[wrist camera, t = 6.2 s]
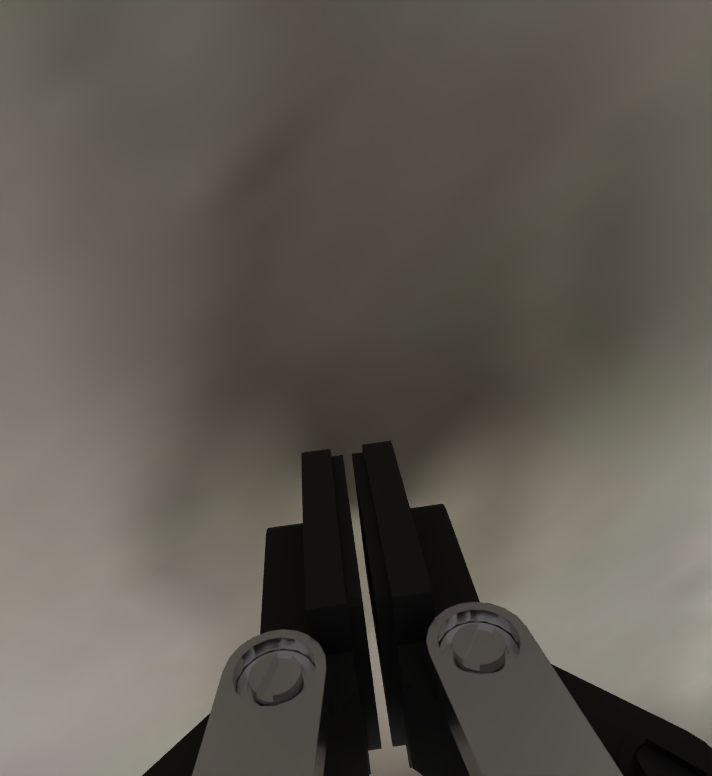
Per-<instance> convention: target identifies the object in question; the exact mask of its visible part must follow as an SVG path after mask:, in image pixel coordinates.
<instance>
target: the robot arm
mask: <svg viewBox="0 0 712 776" xmlns="http://www.w3.org/2000/svg"><path fill="white" fill-rule="evenodd" d="M362 450H363V452H362V453H354V454H352V460H353V468H354V476H355V484H356V492H357V500H358V508H359V517H360V525H361V533H362V541H363V549H364V557H365V565H366V573H367V580H368V587H369V594H370V600H371V607H372V614H373V620H374V627H375V633H376V640H377V647H378V653H379V660H380V666H381V673H382V680H383V686H384V693H385V699H386V706H387V713H388V719H389V726H390V732H391V739H392V745H393V747H394V746H401V745H406V748H407V754H408V760H409V766H410V768H412V767H413V769H415V770H416V771H417V772H419V773H420V774H422V775H423V776H712V748H711V747H710V746H709V745H707V744H706V743H705V742H704V741H702V740H701V739H699V738H697V737H696V736H694V735H693V734H691V733H689V732H688V731H686V730H684V729H682V728H680V727H678V726H676V725H674V724H672V723H670V722H668V721H666V720H664V719H662V718H660V717H658V716H656V715H653V714H651V713H649V712H647V711H645V710H643V709H641V708H639V707H637V706H635V705H633V704H631V703H629V702H627V701H625V700H623V699H621V698H619V697H617V696H615V695H613V694H611V693H609V692H607V691H605V690H603V689H601V688H599V687H597V686H595V685H593V684H591V683H588V682H586V681H584V680H582V679H580V678H578V677H576V676H574V675H572V674H570V673H568V672H566V671H564V670H562V669H560V668H558V667H556V666H554V665H552V664H551V663H550V662H549V660H548V659H547V657H546V656H545V654H544V653H543V651H542V649H541V648H540V646H539V645H538V643H537V642H536V640H535V639H534V637H533V636H532V634H531V633H530V631H529V629H528V628H527V626H526V625H525V624H524V623H523V622H522V621H521V620H520V619H519V618H518V616H516V615H515V614H513V613H512V612H510V611H508V610H507V609H505V608H503V607H500V606H497V605H494V604H491V603H482V602H480V601H479V599H478V596H477V593H476V590H475V588H474V585H473V582H472V579H471V577H470V574H469V571H468V568H467V566H466V563H465V560H464V557H463V555H462V552H461V549H460V546H459V544H458V541H457V538H456V535H455V532H454V530H453V527H452V524H451V521H450V519H449V516H448V513H447V511H446V508H445V506H444V505H443V504H438V505H431V506H424V507H416V508H410V507H409V503H408V500H407V496H406V493H405V489H404V485H403V482H402V478H401V475H400V471H399V467H398V464H397V460H396V457H395V453H394V449H393V446H392V443H391V441H386V442H378V443H371V444H363V445H362ZM301 459H302V501H303V523H301V524H294V525H287V526H279V527H272V528H268V529H267V532H266V545H265V562H264V579H263V596H262V613H261V630H260V635H258V636H255V637H252V638H251V639H250V640H248V641H247V642H245V643H244V644H242V645H241V646H239V647H238V649H237V650H236V651H235V652H234V653H233V654H232V655H231V656H230V658H229V659H228V661H227V663H226V666H225V668H224V670H223V672H222V676H221V679H220V682H219V686H218V689H217V692H216V696H215V699H214V703H213V706H212V709H211V713H210V714H209V715H208V716H207V717H205V718H204V719H203V720H202V721H201V722H200V723H199V724H198V725H197V726H196V727H195V728H193V729H192V730H191V731H190V732H189V733H188V734H187V735H186V736H185V737H184V738H183V739H182V740H180V741H179V742H178V743H177V744H176V745H175V746H174V747H173V748H172V749H171V750H170V751H168V752H167V753H166V754H165V755H164V756H163V757H162V758H161V759H160V760H159V761H158V762H156V763H155V764H154V765H153V766H152V767H151V768H150V769H149V770H148V771H147V772H146V773H144V774H143V775H142V776H369V775H370V774H371V772H370V763H369V754H368V750H374V749H381V740H380V732H379V725H378V717H377V709H376V702H375V694H374V686H373V678H372V671H371V663H370V655H369V648H368V640H367V632H366V624H365V617H364V609H363V601H362V594H361V587H360V579H359V572H358V564H357V557H356V550H355V542H354V535H353V528H352V520H351V513H350V506H349V498H348V491H347V484H346V476H345V469H344V461H343V455H339V456H332V457H331V450H330V449H326V450H319V451H311V452H304V453H301Z"/></svg>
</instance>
